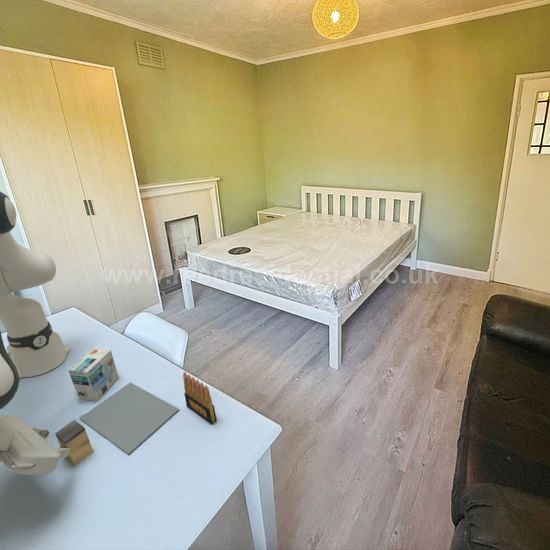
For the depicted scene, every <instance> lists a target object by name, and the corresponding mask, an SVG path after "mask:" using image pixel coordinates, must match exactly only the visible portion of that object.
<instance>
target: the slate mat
mask: <svg viewBox="0 0 550 550" xmlns="http://www.w3.org/2000/svg"><path fill="white" fill-rule="evenodd" d="M179 411H180V408H178V407H176V406H175V405H172V404H170V403H169V402H168V401H165V400H163V399H162V398H160V397H158V396H156V395H155V394H152V393H150V392H149V391H147V390H146V389H144V388H142V387H140V386H138V385H136V384H135V383H132V382H131V381H130V382H129V383H128V384H126V385H124V386H123V387H121V388H120V389H118V390H117V391H116V392H115V393H112V395H110V396H108V397H107V398H106V399H104V400H102V401H101V402H100V403H98V404H97V405H95V406H94V407H93V408H92V409H90V410H89V411H87V412H85V413H84V414H83V415H81V416H80V417H79V420H80V421H82V422H83V423H84V424H86V425H87V426H88V427H90V428H91V429H93V430H94V431H95V432H96V433H97V434H99V435H101V436H102V438H104V439H106V440H108V441H109V442H110V443H111V444H113V445H114V446H116V447H117V448H118V449H120V450H121V451H122V452H123V453H125V454H127V455H128V456H130V455H131V454H132V453H134V451H136V450H137V449H138V448H139V447H140V446H141V445H143V444H144V443H145V442H146V440H148V439H149V438H150V437H151V436H153V435H154V433H156V432H157V431H158V430H160V429H161V428H162V427H163V426H164V425H165V424H166V423H167V422H168V421H170V420H171V418H172V417H174V416H175V415H177V414H178V412H179Z"/></svg>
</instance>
